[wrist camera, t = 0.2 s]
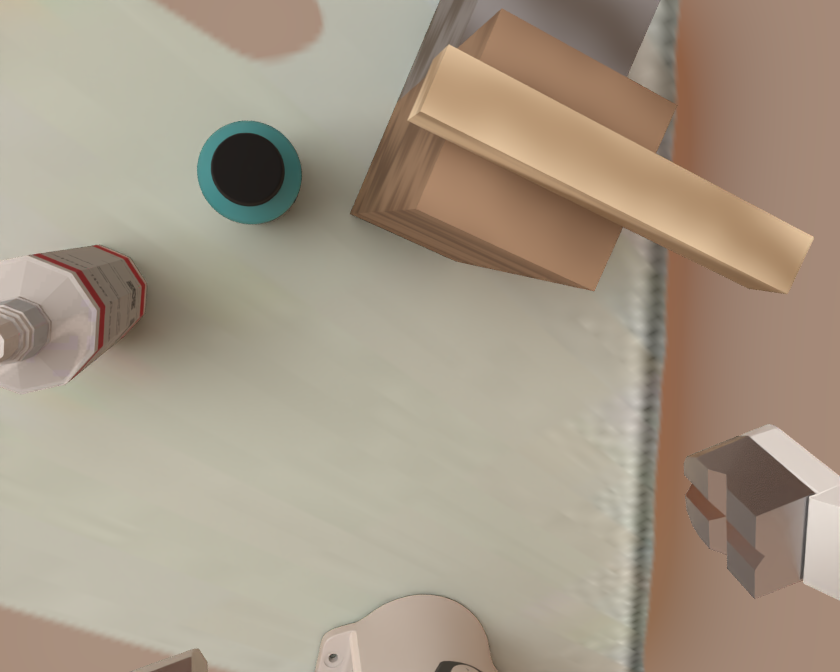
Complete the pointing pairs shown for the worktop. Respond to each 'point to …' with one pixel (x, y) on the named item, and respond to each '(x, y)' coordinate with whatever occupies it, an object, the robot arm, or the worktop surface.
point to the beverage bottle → (249, 172)
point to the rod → (605, 172)
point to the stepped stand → (493, 185)
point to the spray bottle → (64, 313)
